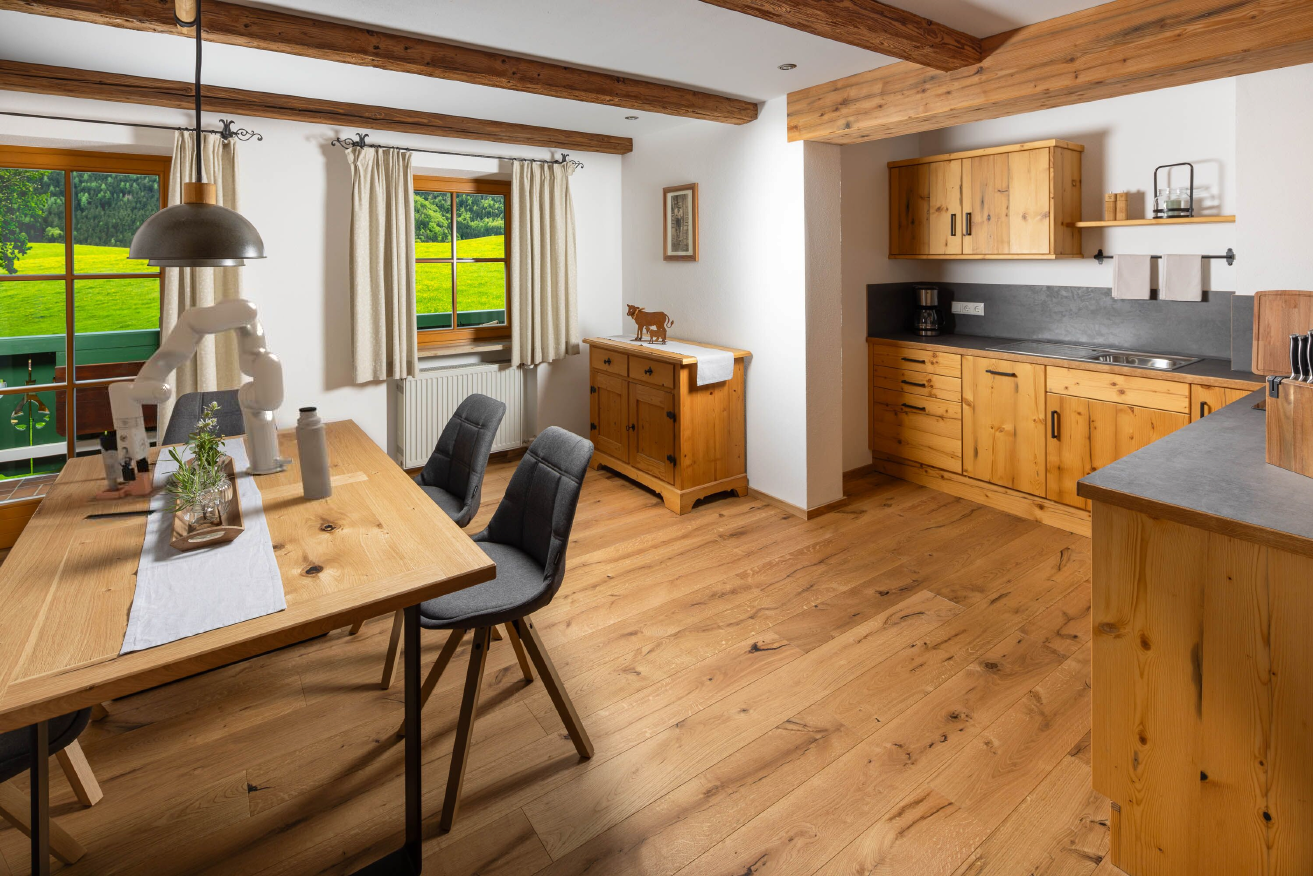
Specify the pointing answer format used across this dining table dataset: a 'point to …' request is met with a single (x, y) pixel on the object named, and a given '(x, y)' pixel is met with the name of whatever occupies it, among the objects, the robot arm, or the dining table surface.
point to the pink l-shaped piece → (129, 487)
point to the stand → (114, 488)
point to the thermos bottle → (313, 455)
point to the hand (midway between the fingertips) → (136, 476)
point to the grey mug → (111, 452)
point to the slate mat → (120, 514)
